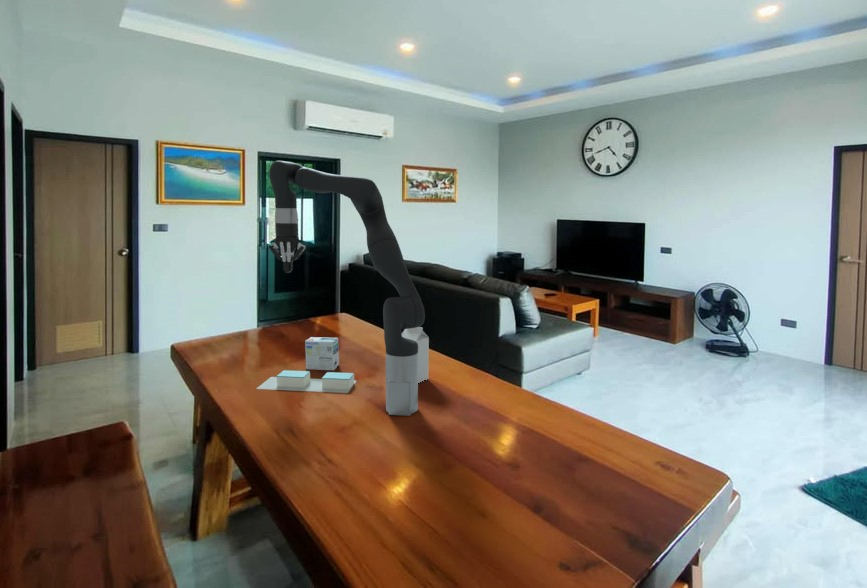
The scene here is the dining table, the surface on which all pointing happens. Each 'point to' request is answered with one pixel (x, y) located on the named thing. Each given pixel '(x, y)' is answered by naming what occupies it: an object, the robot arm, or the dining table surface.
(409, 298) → the robot arm
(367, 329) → the dining table surface
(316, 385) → the runner
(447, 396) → the dining table surface
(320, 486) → the dining table surface
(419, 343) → the milk carton
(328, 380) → the block
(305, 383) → the tile
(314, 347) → the light bulb box
